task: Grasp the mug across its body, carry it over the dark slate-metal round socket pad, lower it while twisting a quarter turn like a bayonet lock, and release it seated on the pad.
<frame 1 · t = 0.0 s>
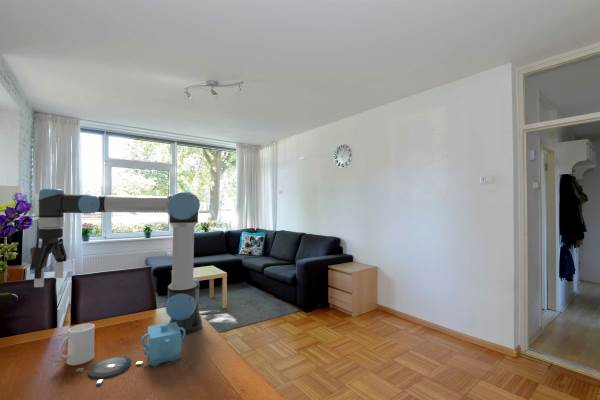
hand: (49, 282, 116), 28 cm above the table, fingers open, 13 cm apart
mug: (76, 361, 110), on the table
teapot: (164, 362, 111), on the table
socket pad: (110, 367, 106), on the table
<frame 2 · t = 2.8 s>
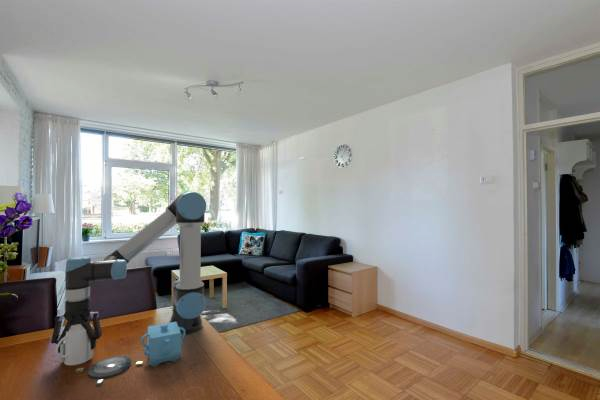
hand: (76, 359, 111), 1 cm above the table, fingers closed on mug, 8 cm apart
mug: (73, 362, 110), on the table, touching gripper
everything else where it was.
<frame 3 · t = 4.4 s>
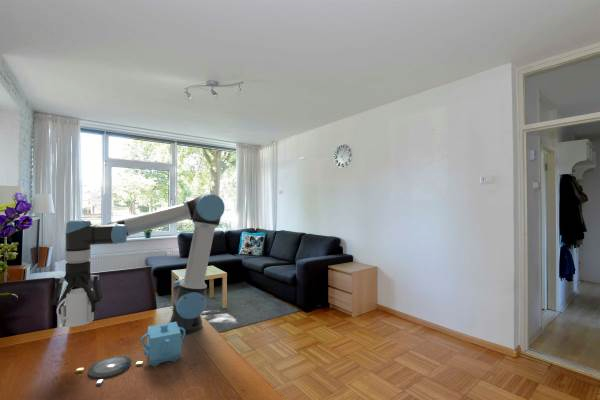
hand: (77, 321, 111), 15 cm above the table, fingers closed on mug, 8 cm apart
mug: (74, 324, 110), point 14 cm above the table, touching gripper
everything else where it was.
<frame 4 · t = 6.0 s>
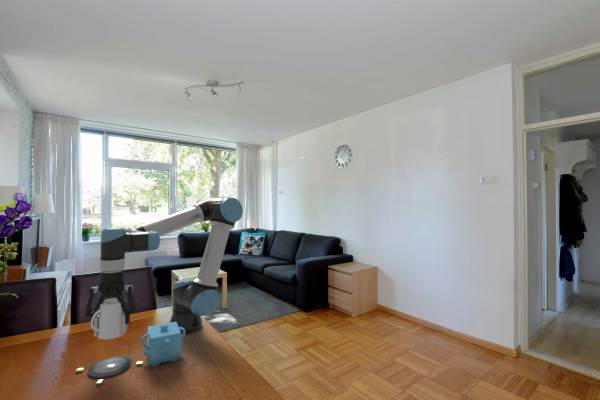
hand: (110, 333, 106), 12 cm above the table, fingers closed on mug, 8 cm apart
mug: (107, 336, 106), point 11 cm above the table, touching gripper
everything else where it was.
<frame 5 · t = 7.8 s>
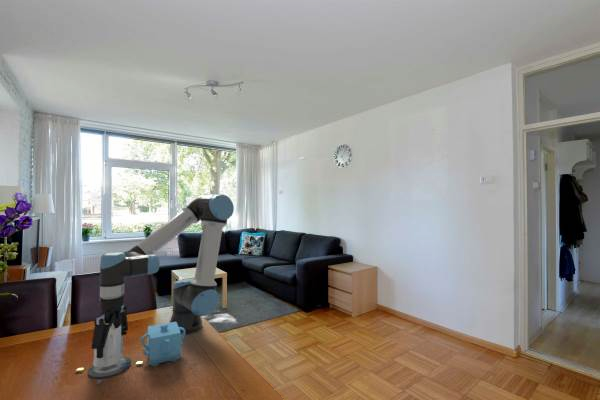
hand: (110, 359, 106), 3 cm above the table, fingers closed on mug, 8 cm apart
mug: (108, 363, 105), point 2 cm above the table, touching gripper
everything else where it was.
when the fingers open (3 cm above the table, at t = 9.0 s): mug stays where it is, resting on socket pad.
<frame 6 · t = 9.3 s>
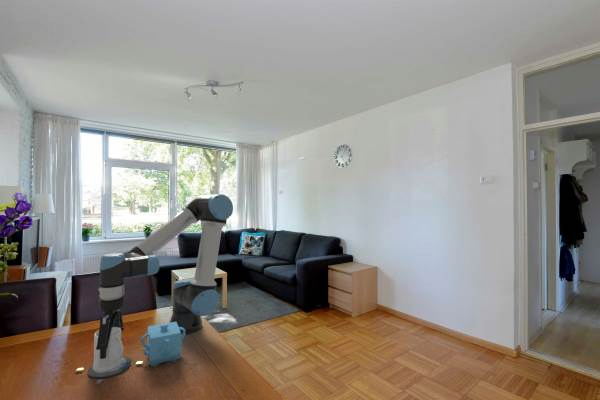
hand: (110, 357, 106), 4 cm above the table, fingers open, 11 cm apart
mug: (109, 366, 105), point 1 cm above the table, touching socket pad
everything else where it was.
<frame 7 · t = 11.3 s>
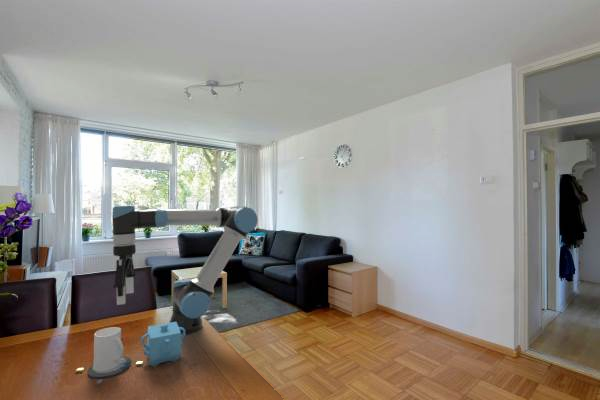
hand: (125, 298, 116), 22 cm above the table, fingers open, 13 cm apart
nothing on the table moved.
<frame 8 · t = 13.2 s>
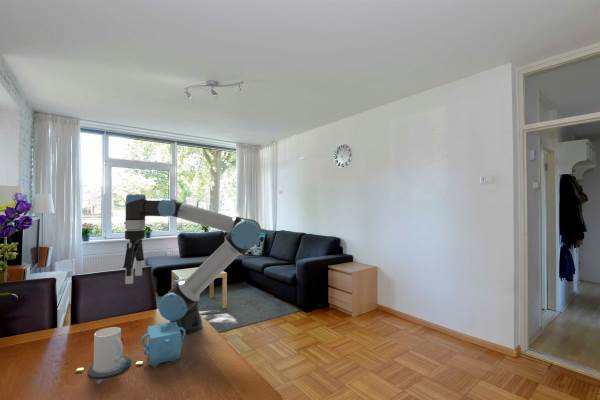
hand: (134, 279, 126), 27 cm above the table, fingers open, 13 cm apart
nothing on the table moved.
at the end: mug 1.0 cm from the socket pad (horizontally); mug tilted 0°; the gripper is holding nothing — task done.
